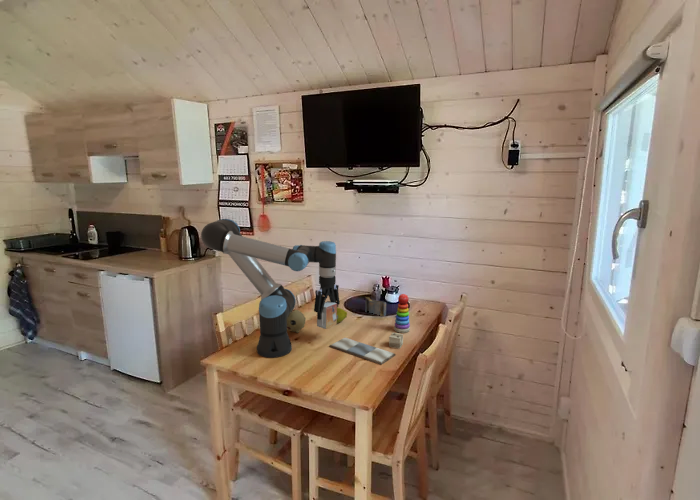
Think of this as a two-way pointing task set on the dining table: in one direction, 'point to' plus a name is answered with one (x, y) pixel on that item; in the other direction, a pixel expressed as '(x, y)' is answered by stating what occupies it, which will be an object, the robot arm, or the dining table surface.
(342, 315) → the green fruit
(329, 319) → the small box
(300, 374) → the dining table surface
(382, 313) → the grey slab
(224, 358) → the dining table surface
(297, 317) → the toy pig
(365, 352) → the game board
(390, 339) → the die
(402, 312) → the stacking toy
